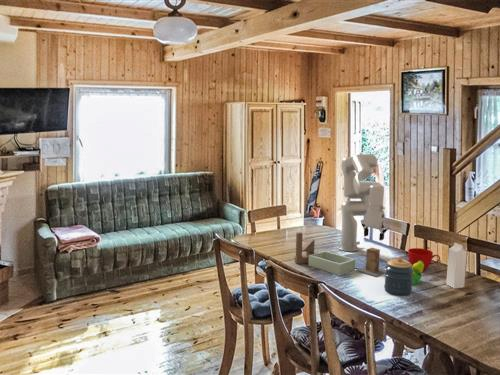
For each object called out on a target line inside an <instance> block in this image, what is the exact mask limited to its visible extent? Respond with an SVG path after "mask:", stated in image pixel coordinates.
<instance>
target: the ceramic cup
mask: <svg viewBox="0 0 500 375" xmlns="http://www.w3.org/2000/svg"><path fill="white" fill-rule="evenodd" d="M407 256H408V262H410V263H411V264H412V266H413V264H415V263H418V261H422V262H423V264H424V267H423V271H426V269H427V268H428V267H429V266H430V265H435V264H438V263H439V262H440V261H441V256H440V255H439V254H434V253H433V251H432V250H430V249H426V248H420V247H417V248H415V247H413V248H409V249H408V250H407ZM434 257H438V259H437V260H436V261H433V262H432V260H433V259H434ZM412 266H411V267H412Z"/></svg>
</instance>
